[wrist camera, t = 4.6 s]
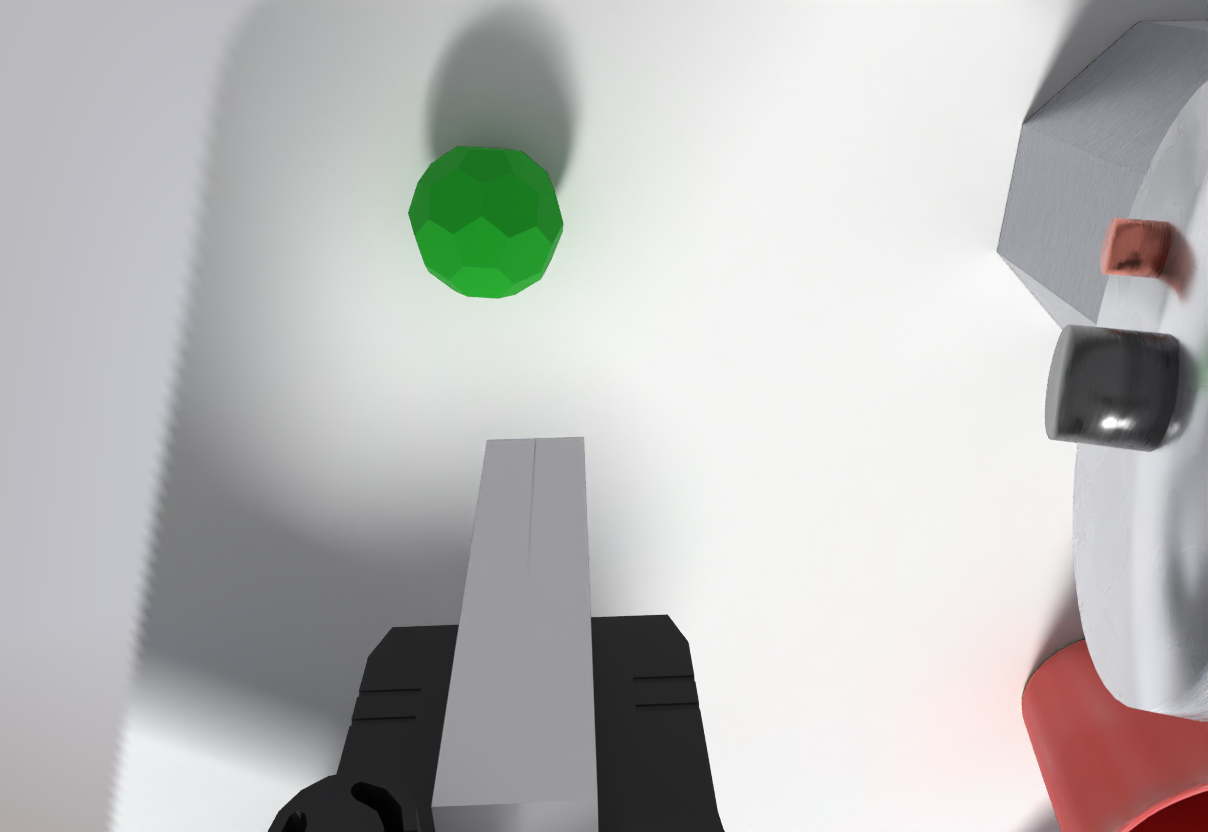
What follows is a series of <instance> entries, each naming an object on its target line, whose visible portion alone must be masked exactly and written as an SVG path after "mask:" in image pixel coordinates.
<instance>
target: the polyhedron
mask: <svg viewBox="0 0 1208 832" xmlns="http://www.w3.org/2000/svg"><path fill="white" fill-rule="evenodd" d="M408 214H409V218H410V221H411V225H412V228H413V232H414V235H415V238H416V241H417V244H418V247H419V250H420V252H421V255H422V258H423V261H424V264H425V266H426V268H427V270H428V271H429V272H430V273H431V274H433V275H434V276H435V277H437V278H438V279H439V280H441V281H442V282H443V283H445V284H446V285H447V286H449V287H450V288H451V289H453V290H454V291H456V292H458V293H461V294H463V295H465V296H468V297H483V298H502V297H507V296H511V295H515V294H517V293H519V292H520V291H522V290H524V289H525V288H527V287H529V286H530V285H532V284H534V283H535V282H537V281H539V280H540V279H541V278H542V276H543V274H544V273H545V271H546V269H547V267H548V265H549V263H550V261H551V259H552V256H553V254H554V252H555V249H556V247H557V244H558V242H559V239H560V237H561V234H562V232H563V220H562V216H561V212H560V209H559V205H558V201H557V197H556V194H555V191H554V188H553V186H552V184H551V181H550V179H549V176H548V174H547V172H546V171H545V170H544V169H542V168H541V167H540V166H539V165H538V164H536V163H535V162H534V161H533V160H532V159H530V158H529V157H528V156H527V155H526V154H524V153H523V152H522V151H518V150H509V149H497V148H484V147H465V146H457V147H456V148H454V149H453V150H451V151H450V152H448V153H447V154H445V155H443V156H442V157H440V158H439V159H437V160H436V161H434V162H433V163H431V164H430V166H429V167H428V169H427V170H426V172H425V173H424V174H423V176H422V177H421V179H420V180H419V182H418V184H417V187H416V190H415V193H414V196H413V199H412V202H411V205H410V209H409V212H408Z"/></svg>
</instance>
